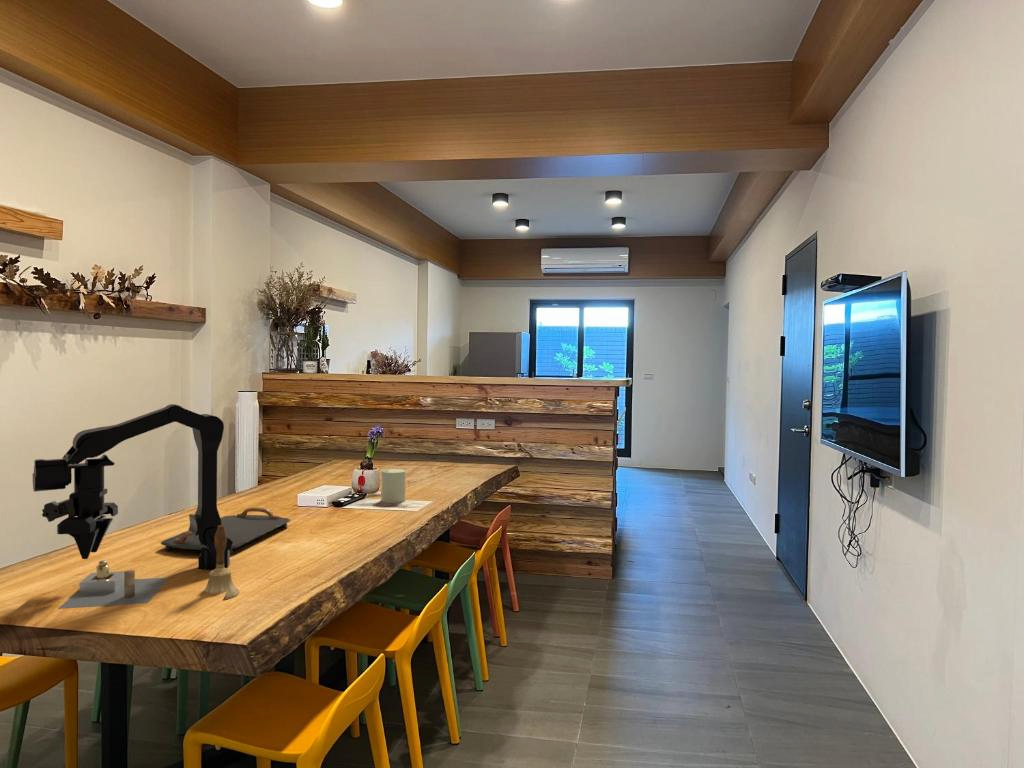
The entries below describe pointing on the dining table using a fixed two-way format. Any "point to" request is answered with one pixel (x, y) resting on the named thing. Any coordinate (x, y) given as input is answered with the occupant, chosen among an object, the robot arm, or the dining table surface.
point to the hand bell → (221, 569)
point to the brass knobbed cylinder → (103, 570)
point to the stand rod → (129, 583)
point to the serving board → (233, 529)
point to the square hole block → (101, 583)
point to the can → (393, 485)
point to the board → (117, 595)
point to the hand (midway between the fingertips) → (89, 555)
